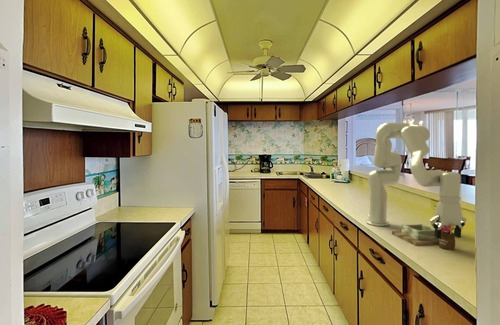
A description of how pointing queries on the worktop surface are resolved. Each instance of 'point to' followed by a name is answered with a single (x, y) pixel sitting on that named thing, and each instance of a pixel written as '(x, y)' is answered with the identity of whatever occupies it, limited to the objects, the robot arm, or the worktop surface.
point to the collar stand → (417, 234)
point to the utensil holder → (447, 239)
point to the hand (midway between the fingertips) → (447, 237)
